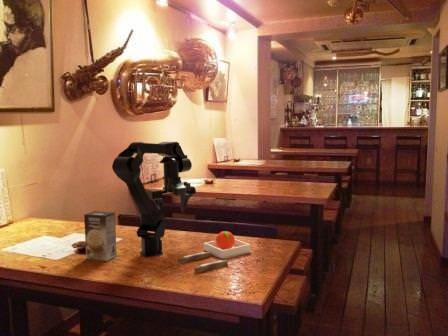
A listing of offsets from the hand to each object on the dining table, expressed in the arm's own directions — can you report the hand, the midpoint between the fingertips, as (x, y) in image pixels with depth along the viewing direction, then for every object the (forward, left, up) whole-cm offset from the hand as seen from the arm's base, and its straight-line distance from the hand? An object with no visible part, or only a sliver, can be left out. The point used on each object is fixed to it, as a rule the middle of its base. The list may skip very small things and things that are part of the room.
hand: (172, 214), depth 157 cm
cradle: (-3, -27, -12) cm, 30 cm away
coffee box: (-28, +1, -12) cm, 31 cm away
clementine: (+10, -21, -12) cm, 26 cm away
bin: (+11, -21, -12) cm, 27 cm away
